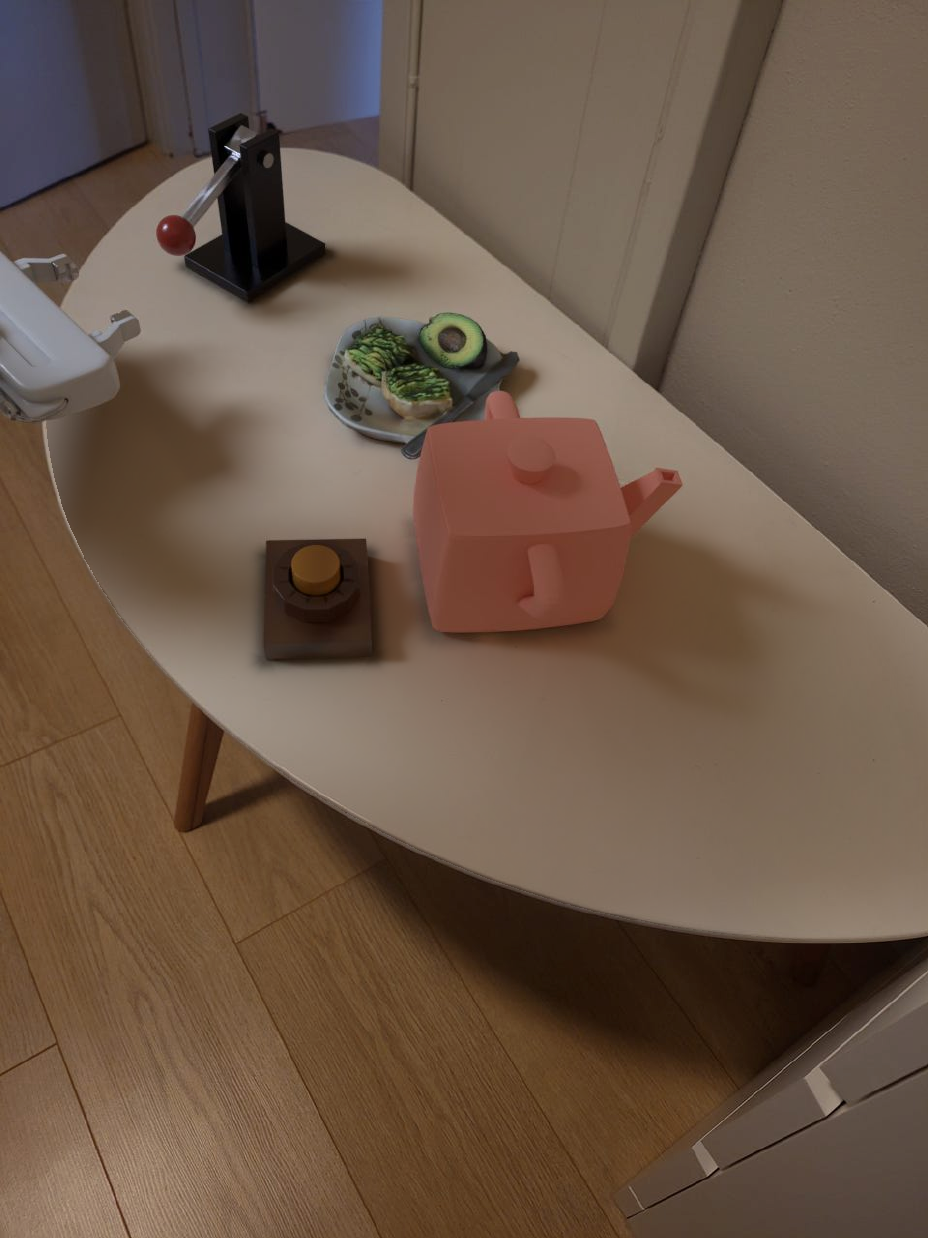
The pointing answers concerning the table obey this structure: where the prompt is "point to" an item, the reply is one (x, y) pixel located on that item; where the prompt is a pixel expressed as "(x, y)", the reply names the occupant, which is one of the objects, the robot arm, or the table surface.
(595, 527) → the teapot
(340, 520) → the table surface
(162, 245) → the lever
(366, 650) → the button block
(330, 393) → the plate of avocado toast
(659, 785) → the table surface
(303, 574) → the button
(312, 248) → the bracket
